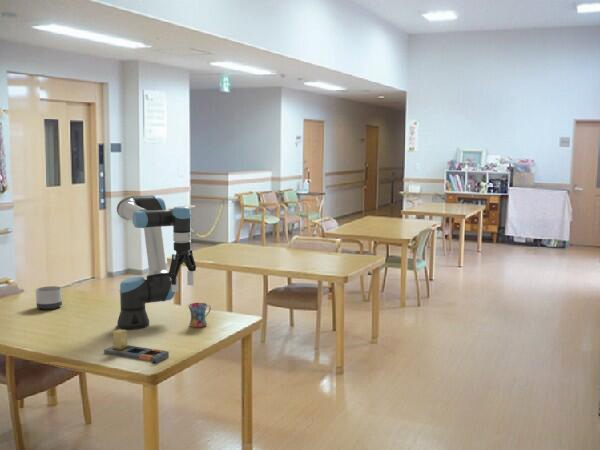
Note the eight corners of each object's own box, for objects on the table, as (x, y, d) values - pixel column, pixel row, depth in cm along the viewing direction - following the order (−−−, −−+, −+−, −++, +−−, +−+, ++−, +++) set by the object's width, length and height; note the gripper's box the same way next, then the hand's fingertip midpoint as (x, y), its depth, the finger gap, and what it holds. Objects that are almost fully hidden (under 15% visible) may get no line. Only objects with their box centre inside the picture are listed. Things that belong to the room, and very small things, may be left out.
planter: (44, 304, 349) (44, 285, 348) (66, 305, 347) (65, 286, 346) (31, 310, 337) (31, 291, 335) (54, 311, 335) (53, 291, 334)
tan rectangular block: (113, 352, 265) (113, 331, 264) (119, 349, 269) (119, 329, 267) (121, 353, 263) (120, 332, 262) (127, 350, 267) (126, 330, 266)
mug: (195, 329, 302) (194, 308, 300) (184, 325, 308) (184, 304, 307) (216, 325, 310) (215, 304, 308) (205, 321, 316) (205, 300, 315)
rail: (103, 355, 264) (103, 349, 263) (118, 349, 272) (118, 343, 272) (155, 364, 254) (155, 357, 253) (168, 357, 262) (168, 351, 262)
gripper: (174, 246, 266) (175, 295, 269) (203, 238, 289) (203, 283, 292) (159, 245, 269) (160, 293, 271) (188, 237, 292) (189, 282, 295)
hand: (182, 288), depth 282 cm, fingers open, 13 cm apart
